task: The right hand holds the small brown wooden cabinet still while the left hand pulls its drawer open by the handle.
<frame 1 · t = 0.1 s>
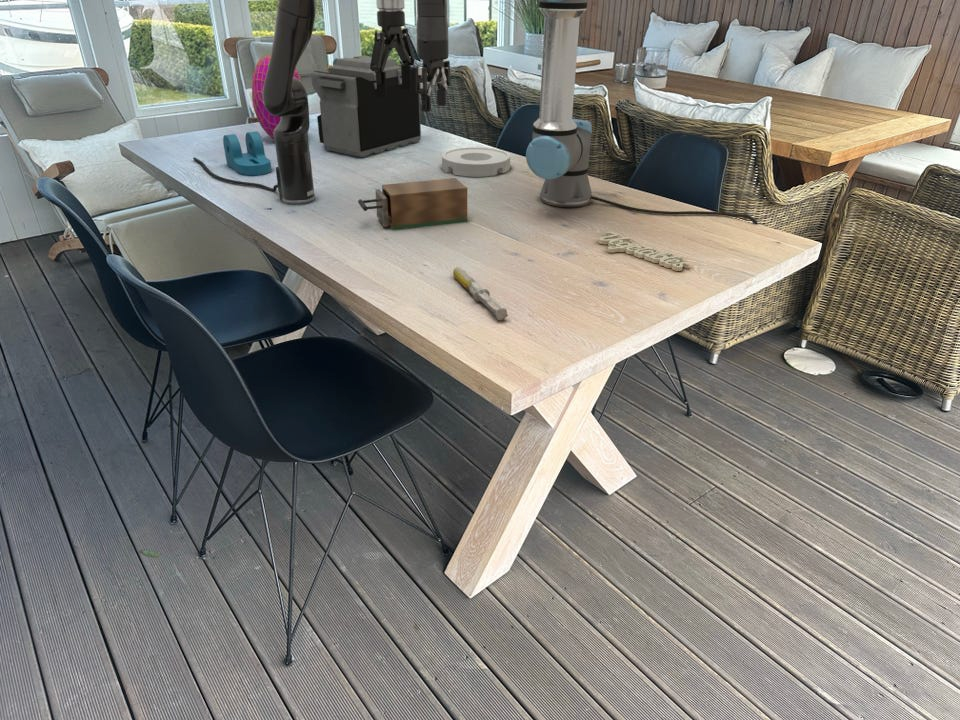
left hand: (434, 108, 171), 29 cm above the table, tool pointing down, fingers open, 8 cm apart
right hand: (394, 93, 197), 28 cm above the table, tool pointing down, fingers open, 13 cm apart
drawer: (406, 205, 183), point 5 cm above the table, slide at 0.8 cm
camera mount: (251, 168, 229), on the table
decorative egg: (284, 140, 265), on the table
decorative sign: (638, 254, 167), on the table
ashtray: (475, 167, 233), on the table
electronic device: (371, 146, 258), on the table
cabinet: (425, 219, 187), on the table
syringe: (478, 297, 145), on the table
potted flower: (341, 120, 298), on the table
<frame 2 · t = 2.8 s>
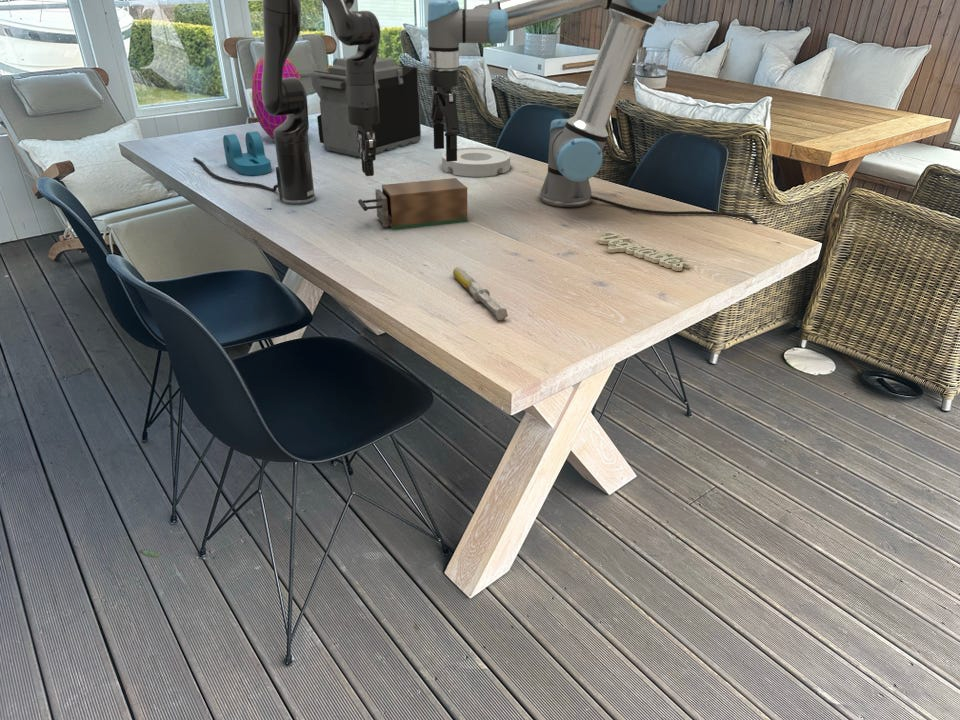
left hand: (368, 173, 176), 14 cm above the table, tool pointing down, fingers closed
right hand: (445, 154, 183), 16 cm above the table, tool pointing down, fingers open, 13 cm apart
nothing on the table moved.
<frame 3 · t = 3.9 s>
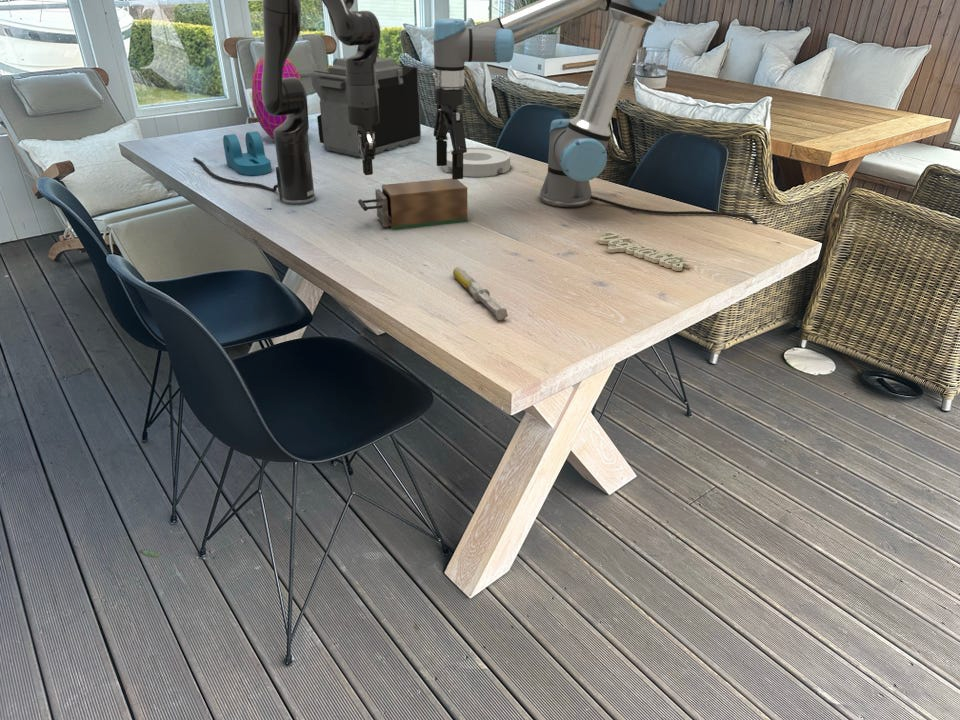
left hand: (368, 174, 176), 14 cm above the table, tool pointing down, fingers closed
right hand: (449, 172, 183), 12 cm above the table, tool pointing down, fingers open, 13 cm apart
nothing on the table moved.
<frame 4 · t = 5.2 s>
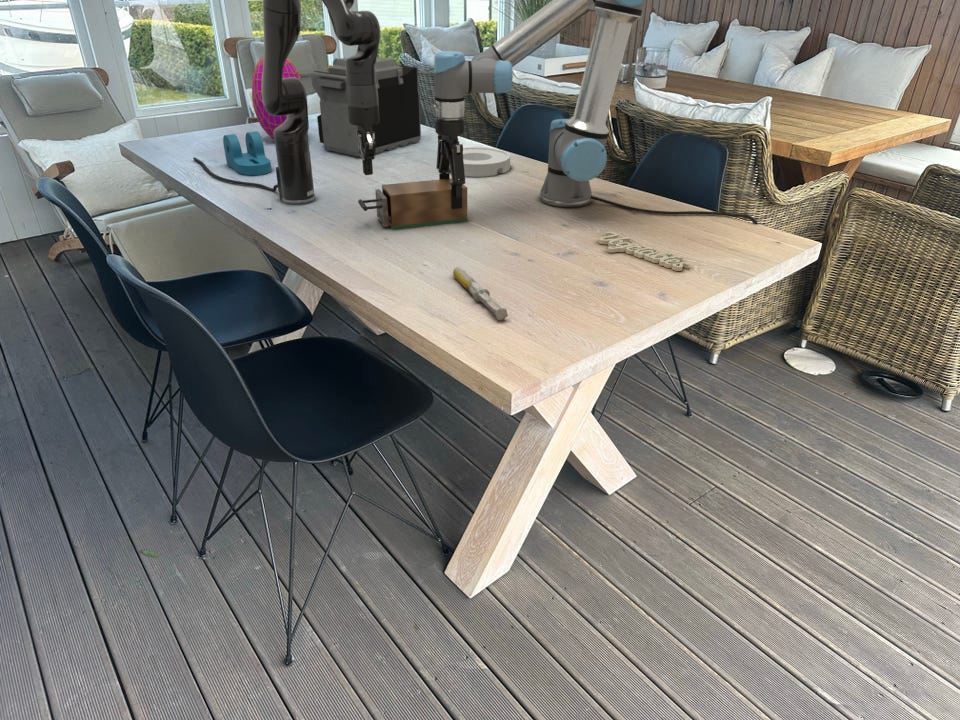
left hand: (368, 174, 176), 14 cm above the table, tool pointing down, fingers closed
right hand: (450, 202, 187), 4 cm above the table, tool pointing down, fingers closed on cabinet, 10 cm apart
cabinet: (425, 219, 187), on the table, touching right hand
everything else where it was.
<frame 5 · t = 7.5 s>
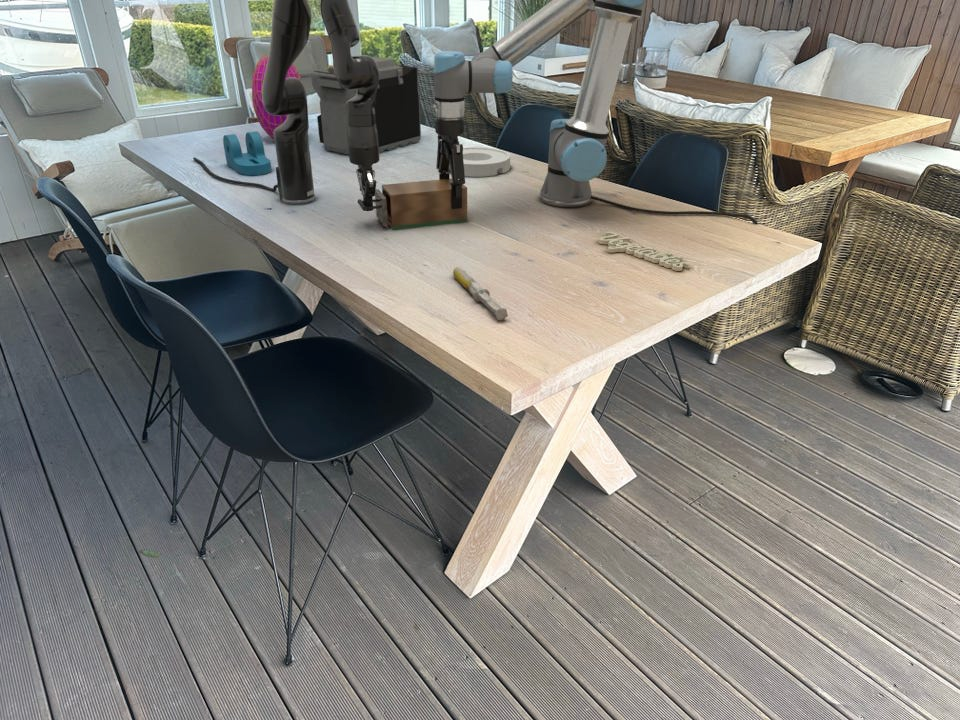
left hand: (368, 210, 180), 4 cm above the table, tool pointing down, fingers closed
right hand: (450, 202, 187), 4 cm above the table, tool pointing down, fingers closed on cabinet, 10 cm apart
drawer: (406, 205, 183), point 5 cm above the table, slide at 1.0 cm, touching left hand
cabinet: (425, 219, 187), on the table, touching right hand
everything else where it was.
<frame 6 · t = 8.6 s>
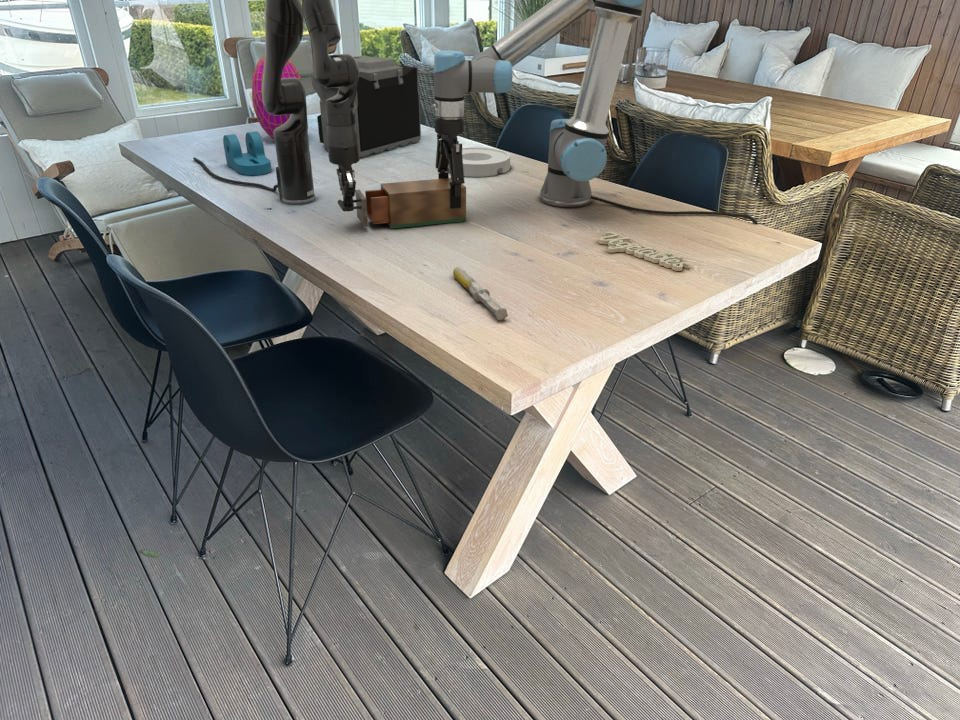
left hand: (349, 210, 178), 5 cm above the table, tool pointing down, fingers closed
right hand: (449, 202, 187), 4 cm above the table, tool pointing down, fingers closed on cabinet, 10 cm apart
drawer: (386, 205, 181), point 5 cm above the table, slide at 5.8 cm, touching left hand
cabinet: (424, 218, 187), on the table, touching right hand
everything else where it was.
when the right hand's fingers open (4 cm above the table, at t = 10.1 s): cabinet stays where it is, on the table.
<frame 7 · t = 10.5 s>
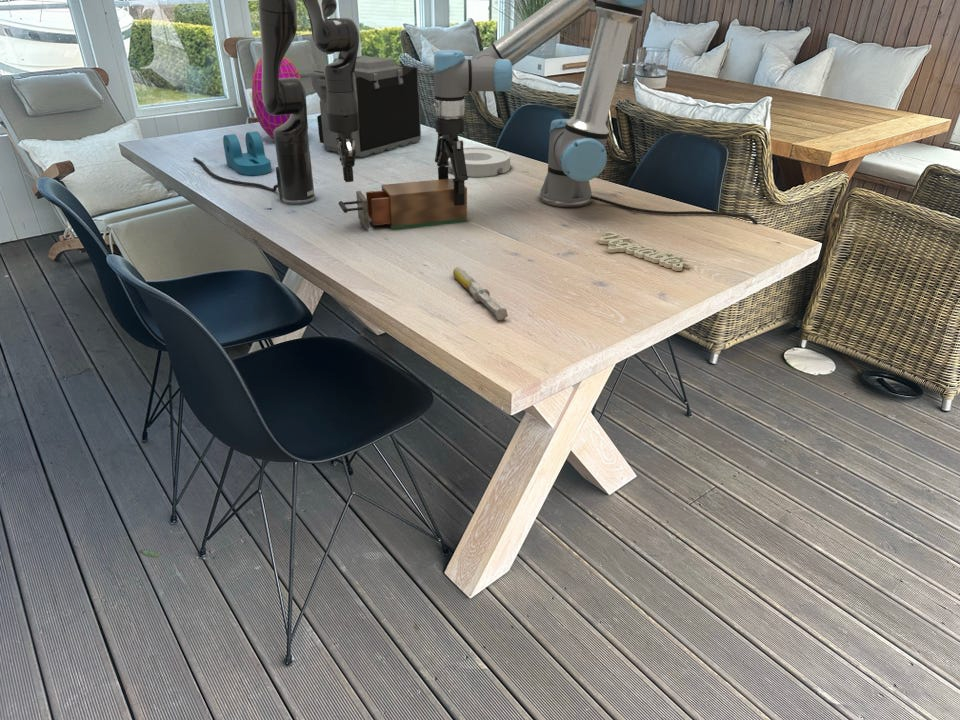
left hand: (348, 181, 175), 12 cm above the table, tool pointing down, fingers closed
right hand: (451, 197, 187), 5 cm above the table, tool pointing down, fingers open, 13 cm apart
drawer: (387, 206, 182), point 5 cm above the table, slide at 5.8 cm
cabinet: (425, 219, 187), on the table
everything else where it was.
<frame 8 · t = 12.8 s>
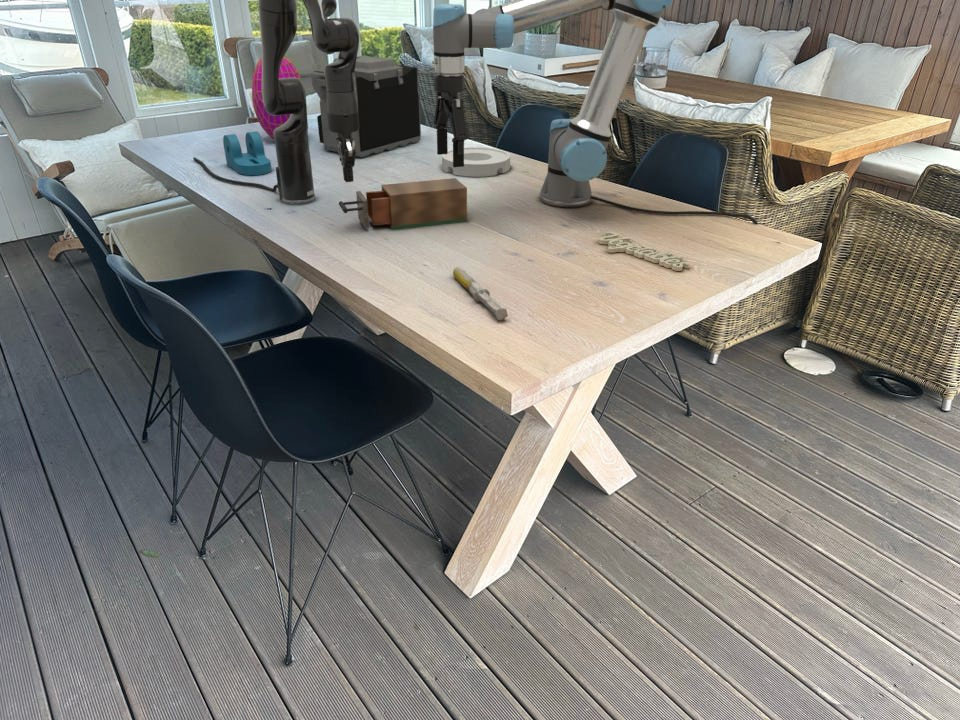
left hand: (348, 181, 175), 12 cm above the table, tool pointing down, fingers closed
right hand: (450, 160, 181), 16 cm above the table, tool pointing down, fingers open, 13 cm apart
nothing on the table moved.
at the end: drawer slide at 5.8 cm; cabinet tilted 0°; cabinet never tilted more than 2° during the clip; cabinet moved 0.1 cm from its start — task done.
